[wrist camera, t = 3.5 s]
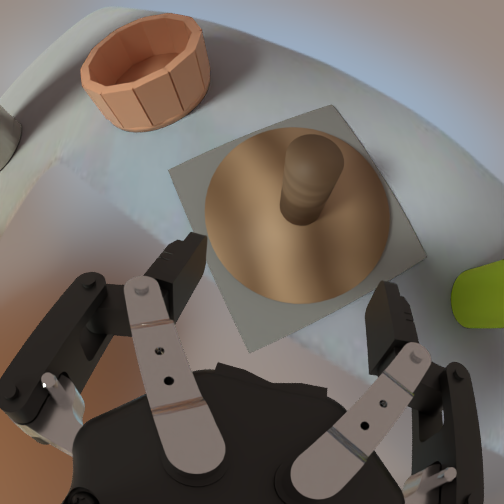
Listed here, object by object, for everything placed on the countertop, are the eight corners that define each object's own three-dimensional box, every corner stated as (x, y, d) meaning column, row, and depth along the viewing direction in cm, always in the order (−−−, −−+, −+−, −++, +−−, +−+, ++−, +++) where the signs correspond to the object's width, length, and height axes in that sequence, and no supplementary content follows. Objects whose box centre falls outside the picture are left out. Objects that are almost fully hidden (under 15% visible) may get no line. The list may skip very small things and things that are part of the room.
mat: (249, 352, 24) (249, 353, 23) (169, 171, 27) (168, 170, 27) (424, 257, 25) (426, 257, 24) (331, 106, 28) (331, 104, 28)
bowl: (116, 152, 28) (86, 115, 21) (100, 84, 31) (78, 50, 24) (227, 99, 29) (219, 52, 22) (190, 42, 31) (179, 2, 25)
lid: (255, 337, 23) (249, 350, 15) (181, 173, 27) (149, 117, 18) (414, 252, 24) (471, 223, 15) (329, 113, 28) (346, 50, 19)
